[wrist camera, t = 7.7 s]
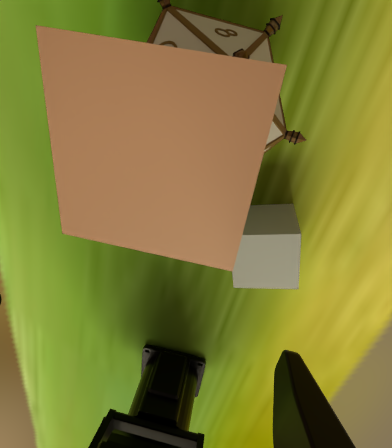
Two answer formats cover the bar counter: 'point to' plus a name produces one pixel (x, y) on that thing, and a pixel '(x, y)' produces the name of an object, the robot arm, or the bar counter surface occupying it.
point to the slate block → (269, 249)
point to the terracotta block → (155, 142)
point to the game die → (222, 48)
